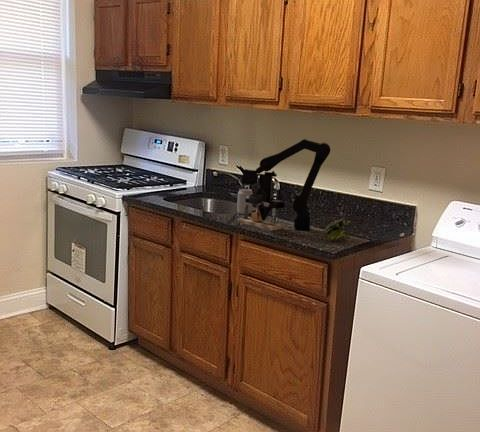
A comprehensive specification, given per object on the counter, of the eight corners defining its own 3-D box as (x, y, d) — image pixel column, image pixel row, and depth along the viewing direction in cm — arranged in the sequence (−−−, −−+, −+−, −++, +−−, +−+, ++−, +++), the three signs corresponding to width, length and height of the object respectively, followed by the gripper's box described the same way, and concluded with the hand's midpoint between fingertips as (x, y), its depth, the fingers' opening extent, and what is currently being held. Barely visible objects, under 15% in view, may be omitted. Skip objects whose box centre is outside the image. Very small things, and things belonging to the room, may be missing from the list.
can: (250, 215, 264) (251, 191, 262) (235, 214, 266) (236, 189, 263) (253, 212, 272) (254, 188, 269) (238, 211, 273) (239, 187, 271)
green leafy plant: (330, 250, 229) (337, 224, 233) (353, 250, 221) (360, 224, 225) (316, 238, 221) (324, 212, 226) (339, 238, 214) (346, 211, 218)
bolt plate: (282, 228, 239) (283, 210, 238) (271, 230, 234) (272, 212, 233) (247, 220, 254) (248, 203, 252) (237, 221, 249) (237, 204, 247)
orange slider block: (263, 220, 245) (263, 207, 244) (257, 221, 242) (257, 208, 241) (257, 219, 247) (258, 206, 246) (251, 220, 244) (252, 207, 243)
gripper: (237, 184, 239) (235, 219, 242) (269, 190, 227) (267, 227, 230) (254, 182, 247) (252, 216, 250) (286, 188, 234) (284, 223, 238)
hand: (263, 220), depth 242 cm, fingers closed
